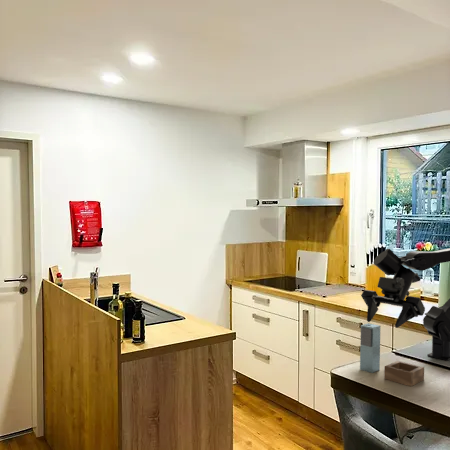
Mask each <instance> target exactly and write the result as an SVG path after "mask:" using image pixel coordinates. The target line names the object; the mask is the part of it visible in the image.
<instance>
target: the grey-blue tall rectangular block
mask: <svg viewBox="0 0 450 450" xmlns="http://www.w3.org/2000/svg"><path fill="white" fill-rule="evenodd" d="M359 343H360V345H359V347H360V348H359V350H360V351H359V354H360V355H359V370H360V371H363V372H367V373H371V374H373V373H376V372H378V371H380V370H381V369H380V365H381V364H380V363H381V360H380V359H381V325H378V324H374V323H370V322H367V323H364V324H361V325H360V342H359Z"/></svg>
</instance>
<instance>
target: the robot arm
mask: <svg viewBox="0 0 450 450" xmlns="http://www.w3.org/2000/svg"><path fill="white" fill-rule="evenodd" d="M448 262H450V247H449V248H445V249H444V248H443V249H439V250H435V251H422V250H420V251H419V250H418V251H417V250H416V251H415V250H414V251H412V250H411V251H409V252H407V253H406V255H404V256H400V257H399V256H398V255H397V254H396V253H395V252H394V251H393V250H392V249H390V248H386V249H385V250H384V251H382V252H380V254H377V256H376V257H375V258H374V260H373V265H374V266H376V268H378V269H379V270H380V271H381V272H383V274H385V275H386V276H393V278H391V277H383V276H380V277H379V279H378V281H377V282H378V283H377V288H380V290H381V292H380V293H382V295H383V296H382V295H379V294H378V292H377V291H376V290H368V289H364V290H363V291H362V293H361V295H360V297H361V298H362V299H363V301H364V303H365V305H366V306H367V311H366V312H367V313H366V314H367V315H366V321H367V323H370V322H371V321H373V318H374V317H375V315H376V314H377V312H378V311H379V308H380V305H381V304H385V305H386V304H387V305H391V306H395V307H402V308H401V311H400V313H399V316H398V317H397V319H396V321H395V324H394V327H395V328H396V329H398V328H399V327H401V326H402V325H404V324H405V323H406V322H408V321H410V320H411V319H413V318H417V317H419V316H421V317H423V315H425V316H424V317H423V318H422V324H423V327H424V328H425V329H426V330H427V334H428V335H430V336H431V337H432V338H431V339H432V340H431V352H430V353H428V354H427V357H430V358H434V359H435V358H436V359H440V360H444V361H450V298H449V299H447V301H446V302H445V303H444V304H442V305H441V306H435V305H432V306H431V307H430V309H429V310H428V311H427V312H425V311H426V307H425V305H424V303H423V301H422V299H421V298H420V297H418V296H411V295H410V291H409V290H410V289H411V286H412V285H413V284H414V283H417V282H421V277H420V276H419V274H418V272H414V271H415V270H416V271H419V272H420V271H421V272H423V271H426V270H429V269H431V268H434V267H436V266H437V265H439V264H443V263H448ZM405 266H406V267H405ZM413 270H414V271H413Z"/></svg>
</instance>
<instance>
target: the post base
mask: <svg viewBox="0 0 450 450" xmlns="http://www.w3.org/2000/svg"><path fill="white" fill-rule="evenodd" d="M383 375H384V376H383V377H384V380H387V381H391V382H393V383H398V384H401V385H405V386H407V387H413V386H415V385H417V384H419V383H421V382H423V381H425V366H421V365H420V366H419V365H418V364H417V365H416V364H413V363H408V362H406V361H405V362H404V361H401V360H397V361H394V362H392V363H388V364H386V365H384V374H383Z"/></svg>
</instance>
